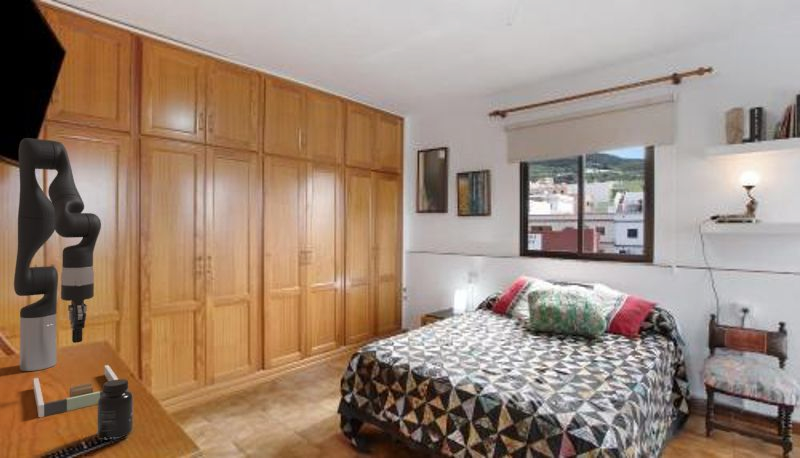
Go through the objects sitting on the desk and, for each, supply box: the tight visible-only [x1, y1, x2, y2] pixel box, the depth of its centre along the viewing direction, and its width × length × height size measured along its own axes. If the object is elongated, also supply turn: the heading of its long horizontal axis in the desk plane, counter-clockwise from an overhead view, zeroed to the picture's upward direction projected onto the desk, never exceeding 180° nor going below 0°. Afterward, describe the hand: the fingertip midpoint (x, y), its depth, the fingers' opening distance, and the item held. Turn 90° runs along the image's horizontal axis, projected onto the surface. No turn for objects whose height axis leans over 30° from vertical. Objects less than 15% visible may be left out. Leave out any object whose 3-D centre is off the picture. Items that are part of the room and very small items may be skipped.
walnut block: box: [69, 381, 94, 398], centre depth 113 cm, size 4×4×4 cm
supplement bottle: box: [96, 378, 134, 439], centre depth 97 cm, size 7×7×12 cm
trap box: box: [33, 364, 119, 418], centre depth 120 cm, size 24×18×3 cm
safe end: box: [66, 391, 100, 412], centre depth 111 cm, size 1×7×3 cm, turn 133°
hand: (77, 341), depth 122 cm, fingers closed
